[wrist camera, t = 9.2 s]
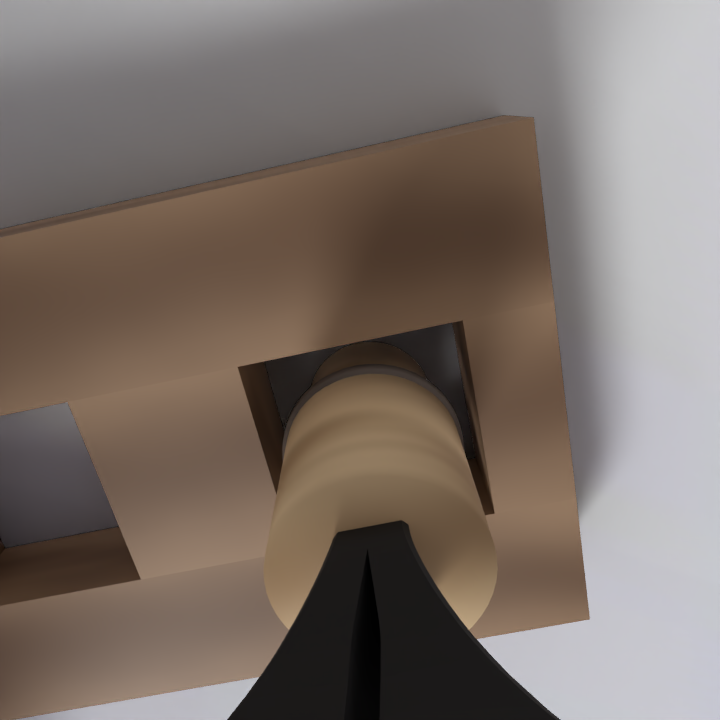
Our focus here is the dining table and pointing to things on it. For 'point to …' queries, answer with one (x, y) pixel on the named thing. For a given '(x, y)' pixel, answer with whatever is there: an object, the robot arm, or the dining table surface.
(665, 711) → the dining table surface
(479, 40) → the dining table surface
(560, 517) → the board
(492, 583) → the peg
